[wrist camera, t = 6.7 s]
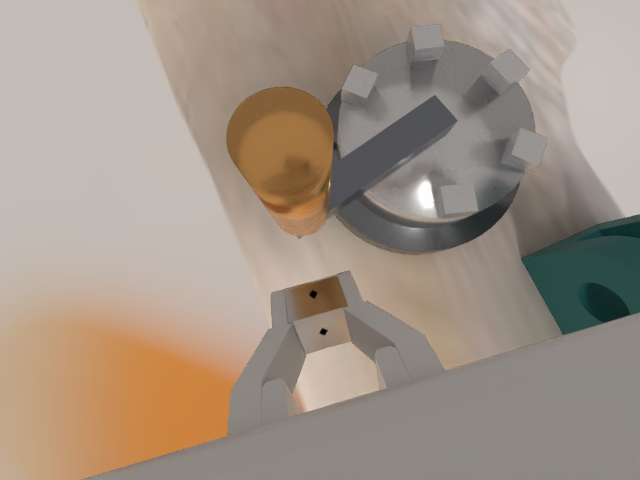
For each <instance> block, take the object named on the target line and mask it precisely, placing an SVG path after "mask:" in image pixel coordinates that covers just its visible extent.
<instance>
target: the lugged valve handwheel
mask: <svg viewBox="0 0 640 480" xmlns="http://www.w3.org/2000/svg"><path fill="white" fill-rule="evenodd" d="M529 71H530V69H529V68H528V67H527V66H526V65H525V64H524V63H523V62H522V61H521V60H520V59H519V58H518V57H517V56H516V55H515V54H514V53H513V52H512V51H511V50H510V49H509V50H507V51H506V52H504V53H503V54H501V55H500V56H499V57H497V58H496V59H493V58H492V57H490V56H489V55H487V54H485V53H483V52H481V51H480V50H477V49H475V48H473V47H470V46H468V45H464V44H461V43H458V42H453V41H447V40H443V35H442V30H441V26H440V24H436V25H426V26H416V27H411V29H410V32H409V35H408V38H407V42H405V43H402V44H398V45H395V46H393V47H390V48H388V49H386V50H384V51H382V52H380V53H379V54H377V55H375V56H374V57H373V58H371V59H370V60H369V61H367V62H366V63H365V64H364V65H363V66H362V67H359V66H356V65H353V67H352V69H351V71H350V73H349V75H348V77H347V79H346V81H345V83H344V85H343V87H342V92H341V100H342V102H341V106H340V111H339V121H338V133H337V158H338V161H337V162H336V163H334V164H333V165H332V157H333V140H334V130H333V124H332V121H331V118H330V116H329V114H328V112H327V110H326V109H325V107H324V106H323V105H322V104H321V103H320V102H319V101H318V100H317V99H316V98H315V97H313V96H312V95H310V94H309V93H306V92H304V91H302V90H299V89H295V88H290V87H274V88H268V89H265V90H262V91H259V92H257V93H255V94H253V95H251V96H250V97H249V98H247V99H246V100H245V101H244V102H242V103H241V104H240V105H239V107H238V108H237V109H236V110H235V112H234V114H233V115H232V117H231V119H230V122H229V125H228V129H227V147H228V151H229V154H230V156H231V159H232V160H233V162H234V164H235V165H236V166H237V168H238V169H239V171H240V172H241V173H242V175H243V176H244V178H245V179H246V180H247V182H248V183H249V185H250V186H251V187H252V189H253V190H254V192H255V193H256V194H257V196H258V197H259V199H260V200H261V201H262V203H263V204H264V205H265V207H266V208H267V210H268V211H269V212H270V214H271V215H272V217H273V218H274V219H275V221H276V222H277V224H278V225H279V226H280V227H281V228H282V229H283V230H284V231H286V232H288V233H290V234H292V235H297V237H298V238H299V239H300V238H301V237H303V236H305V235H309V234H312V233H314V232H316V231H318V230H319V229H320V228H321V227H322V226H323V225H324V223H325V222H326V220H327V219H328V218H330V217H331V216H332V215H334V214H335V213H337V212H338V211H339V210H341V209H342V208H344V207H345V206H347V205H348V204H349V203H351V202H352V201H354V200H355V199H356V198H357V199H358V200H359V201H360V202H361V203H362V204H363V205H364V206H365V207H366V208H367V209H369V210H370V211H372V212H373V213H374V214H376V215H377V216H379V217H381V218H383V219H385V220H387V221H389V222H392V223H395V224H398V225H401V226H406V227H411V228H421V229H425V228H438V227H444V226H448V225H451V224H454V223H457V222H459V221H461V220H463V219H466V218H468V217H470V216H472V215H474V214H476V213H478V212H480V211H482V210H484V209H486V208H488V207H490V206H492V205H493V204H495V203H496V202H498V201H499V200H501V199H502V198H504V197H505V196H506V195H507V194H508V193H509V192H510V191H512V190H513V188H514V187H515V186H516V185H517V184H518V183H519V181H520V180H521V178H522V177H523V175H524V174H525V172H526V173H527V172H529V171H530V170H532V169H534V168H536V167H537V166H539V164H540V161H541V159H542V156H543V153H544V150H545V147H546V144H547V141H548V138H547V137H544V136H541V135H539V134H536V133H535V123H534V117H533V112H532V109H531V106H530V103H529V101H528V99H527V97H526V95H525V93H524V91H523V89H522V88H521V86H520V85H519V83H518V82H520V81H521V79H522V78H523V77H524V76H525V75H526V74H527V73H528V72H529Z"/></svg>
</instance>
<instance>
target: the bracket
mask: <svg viewBox="0 0 640 480" xmlns="http://www.w3.org/2000/svg"><path fill="white" fill-rule="evenodd" d="M521 260H522V262H523V263H524V265H525V267H526V269H527V271H528V272H529V274H530V276H531V278H532V280H533V281H534V283H535V285H536V287H537V289H538V290H539V292H540V294H541V296H542V298H543V299H544V301H545V303H546V305H547V306H548V308H549V310H550V312H551V314H552V315H553V317H554V319H555V321H556V323H557V324H558V326H559V328H560V330H561V332H562V333H563V335H566V334H569V333H573V332H576V331H579V330H583V329H586V328H589V327H593V326H596V325H599V324H603V323H606V322H609V321H613V320H616V319H619V318H623V317H626V316H629V315H633V314H636V313H639V312H640V214H639V215H635V216H631V217H627V218H622V219H618V220H614V221H610V222H606V223H601V224H598V225H596V226H593V227H591V228H589V229H587V230H584V231H582V232H580V233H578V234H575V235H573V236H571V237H569V238H567V239H564V240H562V241H560V242H558V243H555V244H553V245H551V246H549V247H546V248H544V249H542V250H540V251H537V252H535V253H533V254H531V255H528V256H526V257H524V258H522V259H521Z"/></svg>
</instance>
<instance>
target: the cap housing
mask: <svg viewBox="0 0 640 480" xmlns="http://www.w3.org/2000/svg"><path fill="white" fill-rule="evenodd" d="M341 92H342V89H341V90H340V91H339V92H338V93H337V94H336V95H335V97H334V98H333V100H332V101H331V103H330V104H329V105H328V107H327V109H326V110H327V112H328V114H329V116H330V118H331V121H332V124H333V130H334V140H333V157H332V165H333V164H334V163H336V162H337V161H338V158H337V133H338V121H339V111H340V106H341V102H342V100H341ZM519 184H520V181H519V183H518V184H517V185H516V186H515V187H514V188H513V190H512V191H510V192H509V193H508V194H507V195H506V196H505V197H504V198H502V199H501V200H499V201H498V202H496V203H495V204H493V205H492V206H490V207H488V208H486V209H484V210H482V211H480V212H478V213H476V214H474V215H472V216H470V217H468V218H466V219H463V220H461V221H459V222H457V223H454V224H451V225H448V226H444V227H438V228H425V229H421V228H411V227H406V226H401V225H398V224H395V223H392V222H389V221H387V220H385V219H383V218H381V217H379V216H377V215H376V214H374V213H373V212H372V211H370V210H369V209H367V208H366V207H365V206H364V205H363V204H362V203H361V202H360V201H359V200H358V199H357V198H356V199H355V200H354V201H352V202H351V203H349V204H348V205H347V206H345V207H344V208H342V209H341V210H339V211H338V212H337V213H335V216H336V217H337V218H338V219H339V220H340V222H341V223H342V224H343V225H344V226H345V227H346V228H347V229H349V230H350V231H351V232H352V233H354V234H355V235H356V236H358V237H359V238H361V239H362V240H364V241H366V242H367V243H370V244H372V245H374V246H376V247H378V248H381V249H385V250H388V251H391V252H396V253H402V254H429V253H434V252H439V251H443V250H446V249H449V248H452V247H455V246H458V245H461V244H464V243H467V242H469V241H471V240H473V239H475V238H476V237H478V236H480V235H482V234H483V233H484V232H486V231H487V230H488V229H490V228H491V227H492V226H493V225H494V224H495V223H496V222H497V221H498V220H499V219H500V218H501V217H502V216H503V215H504V213H505V212H506V211H507V209H508V208H509V206H510V204H511V203H512V201H513V199H514V197H515V195H516V192H517V190H518V187H519Z"/></svg>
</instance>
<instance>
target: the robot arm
mask: <svg viewBox="0 0 640 480" xmlns="http://www.w3.org/2000/svg"><path fill="white" fill-rule="evenodd" d="M271 315H272V329H268V331H267V332H266V334H265V336H264V337H263V339H262V341H261V342H260V344H259V346H258V347H257V349H256V350H255V352H254V354H253V355H252V357H251V359H250V360H249V362H248V364H247V365H246V367H245V369H244V370H243V372H242V374H241V375H240V377H239V379H238V380H237V382H236V384H235V385H234V387H233V389H232V390H231V397H230V409H229V421H228V433H227V436H226V437H222V438H219V439H215V440H212V441H209V442H205V443H202V444H199V445H196V446H192V447H189V448H185V449H182V450H179V451H176V452H172V453H169V454H166V455H162V456H159V457H155V458H152V459H149V460H145V461H142V462H139V463H135V464H132V465H128V466H125V467H122V468H118V469H115V470H112V471H109V472H105V473H102V474H99V475H95V476H92V477H88V478H85V479H82V480H640V312H639V313H636V314H633V315H629V316H626V317H623V318H619V319H616V320H613V321H609V322H606V323H603V324H599V325H596V326H593V327H589V328H586V329H583V330H579V331H576V332H573V333H569V334H566V335H563V336H559V337H556V338H553V339H549V340H546V341H543V342H539V343H536V344H533V345H529V346H526V347H523V348H519V349H516V350H513V351H509V352H506V353H503V354H499V355H496V356H493V357H489V358H486V359H482V360H479V361H476V362H472V363H469V364H466V365H462V366H459V367H456V368H452V369H449V370H446V371H445V370H444V368H443V366H442V364H441V363H440V361H439V359H438V358H437V356H436V354H435V352H434V351H433V349H432V347H431V346H430V344H429V342H428V341H427V339H426V337H425V335H424V334H422V333H420V332H419V331H417V330H415V329H414V328H412V327H410V326H409V325H407V324H405V323H404V322H402V321H400V320H399V319H397V318H395V317H394V316H392V315H390V314H388V313H387V312H385V311H383V310H382V309H380V308H378V307H377V306H375V305H373V304H372V303H370V302H368V301H365V302H363V300H362V297H361V295H360V293H359V290H358V288H357V286H356V283H355V281H354V279H353V276H352V274H351V272H350V271H346V272H342V273H339V274H337V275H333V276H329V277H326V278H322V279H319V280H316V281H312V282H309V283H305V284H301V285H297V286H294V287H290V288H286V289H283V290H279V291H275V292H272V293H271ZM350 341H351V342H352V343H353V344H354V345H355V346H356V347H358V348H359V349H360V350H361V351H362V352H363V353H364V354H365V355H367V356H368V357H369V358H370V359H371V360H372V361H373V362H375V363H376V367H377V373H378V380H379V386H380V390H379V391H376V392H372V393H369V394H366V395H362V396H359V397H356V398H352V399H349V400H346V401H342V402H339V403H336V404H332V405H329V406H326V407H322V408H319V409H316V410H312V411H309V412H306V413H302V412H301V410H300V409H299V407H298V405H297V403H296V401H295V399H294V398H293V396H292V394H293V391H294V388H295V385H296V383H297V380H298V377H299V374H300V372H301V369H302V366H303V363H304V361H305V358H306V354H309V353H312V352H315V351H318V350H321V349H324V348H327V347H331V346H335V345H339V344H342V343H346V342H350Z"/></svg>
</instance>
